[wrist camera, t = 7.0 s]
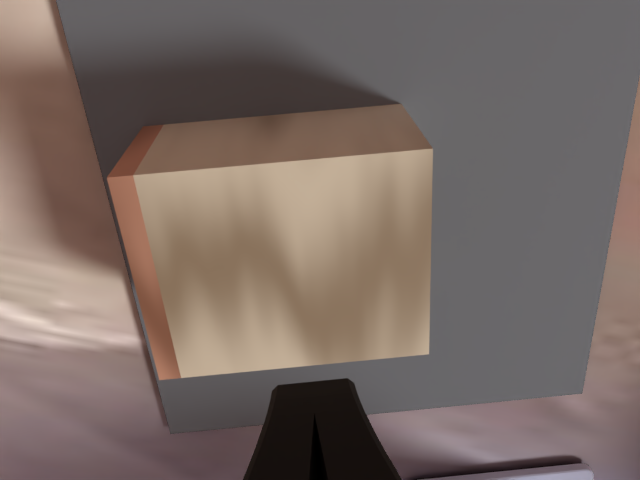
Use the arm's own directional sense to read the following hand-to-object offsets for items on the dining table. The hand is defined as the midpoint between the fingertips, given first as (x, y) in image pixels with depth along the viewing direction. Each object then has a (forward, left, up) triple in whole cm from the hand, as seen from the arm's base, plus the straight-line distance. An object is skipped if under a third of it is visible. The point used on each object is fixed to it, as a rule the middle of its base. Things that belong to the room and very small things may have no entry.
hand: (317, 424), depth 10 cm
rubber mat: (0, -2, -9) cm, 10 cm away
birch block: (0, -3, -7) cm, 8 cm away
